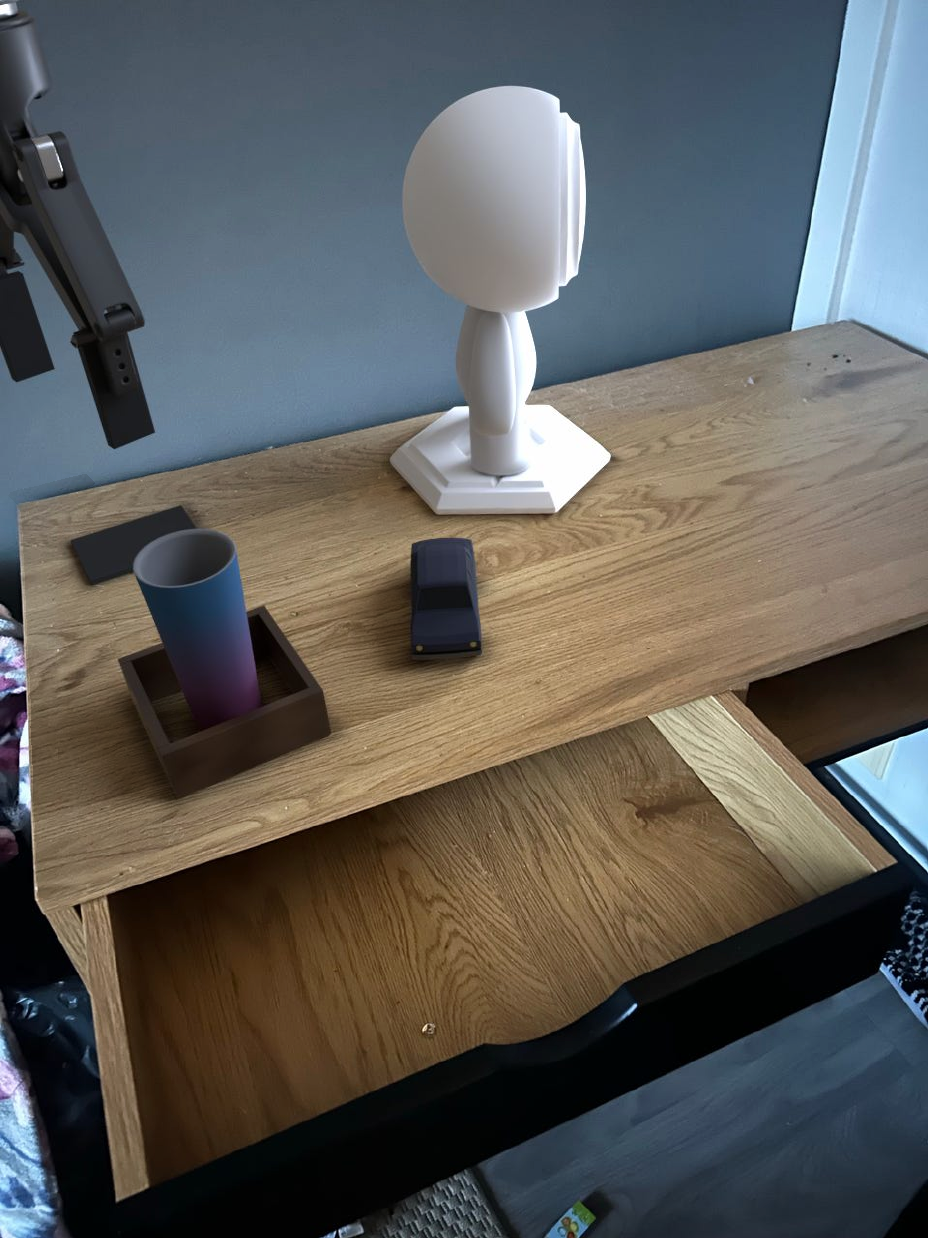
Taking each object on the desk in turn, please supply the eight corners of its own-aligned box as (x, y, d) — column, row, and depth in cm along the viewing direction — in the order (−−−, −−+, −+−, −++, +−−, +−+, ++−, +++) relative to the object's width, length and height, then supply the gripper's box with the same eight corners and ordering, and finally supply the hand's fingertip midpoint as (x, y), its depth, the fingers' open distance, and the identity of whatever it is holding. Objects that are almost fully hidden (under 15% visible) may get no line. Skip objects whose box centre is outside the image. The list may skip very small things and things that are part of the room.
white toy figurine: (615, 513, 94) (637, 110, 72) (378, 515, 96) (328, 123, 74) (605, 415, 109) (620, 59, 87) (401, 419, 111) (365, 71, 89)
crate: (177, 800, 69) (161, 755, 66) (133, 701, 77) (117, 658, 74) (331, 734, 73) (323, 689, 70) (273, 647, 81) (264, 604, 78)
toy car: (411, 672, 78) (405, 624, 75) (411, 565, 89) (406, 518, 86) (485, 667, 78) (482, 618, 75) (475, 560, 89) (473, 514, 86)
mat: (91, 585, 89) (89, 581, 89) (71, 544, 95) (70, 539, 94) (207, 546, 93) (206, 542, 93) (182, 508, 99) (181, 504, 98)
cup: (264, 677, 78) (226, 519, 69) (283, 734, 73) (244, 571, 64) (178, 701, 76) (127, 542, 67) (191, 761, 71) (138, 598, 62)
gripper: (143, 19, 43) (238, 446, 57) (-65, -10, 58) (49, 334, 71) (-23, 47, 39) (120, 498, 53) (-201, 8, 54) (-54, 369, 67)
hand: (79, 405), depth 62 cm, fingers open, 13 cm apart
